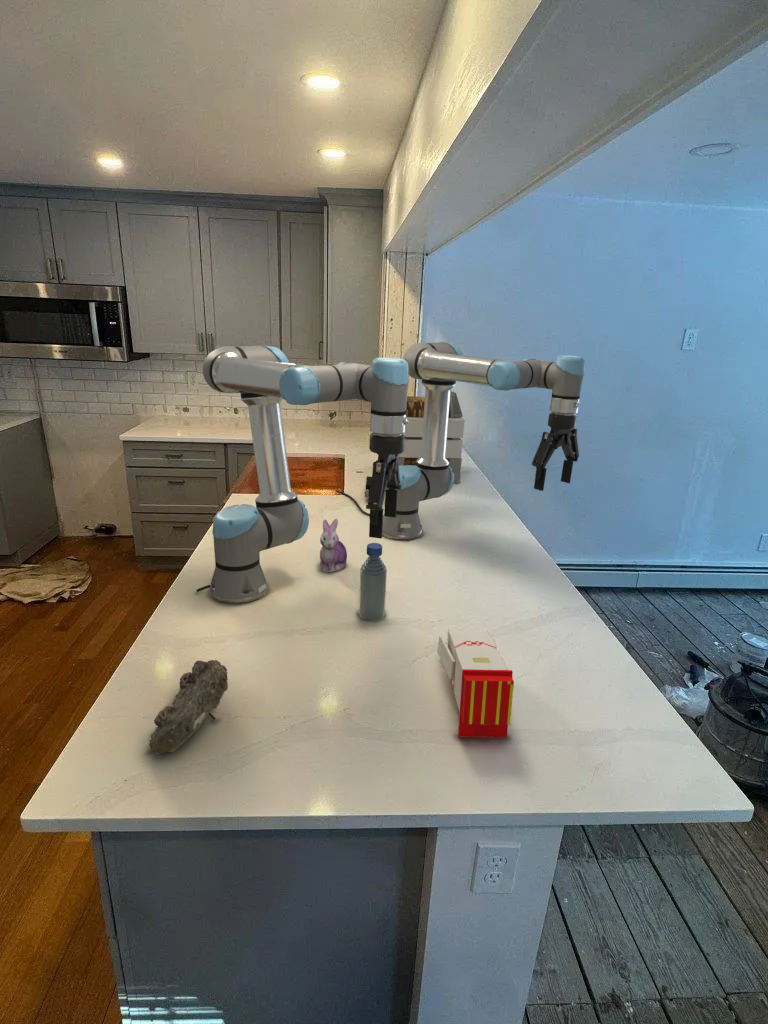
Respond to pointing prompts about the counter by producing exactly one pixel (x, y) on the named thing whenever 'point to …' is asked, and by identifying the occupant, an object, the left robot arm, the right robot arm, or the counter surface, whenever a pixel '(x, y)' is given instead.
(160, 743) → the fossil
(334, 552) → the figurine
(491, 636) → the toy
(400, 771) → the counter surface
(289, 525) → the left robot arm
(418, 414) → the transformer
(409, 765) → the counter surface
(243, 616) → the counter surface
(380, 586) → the bottle
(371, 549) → the cap
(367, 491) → the figurine character
